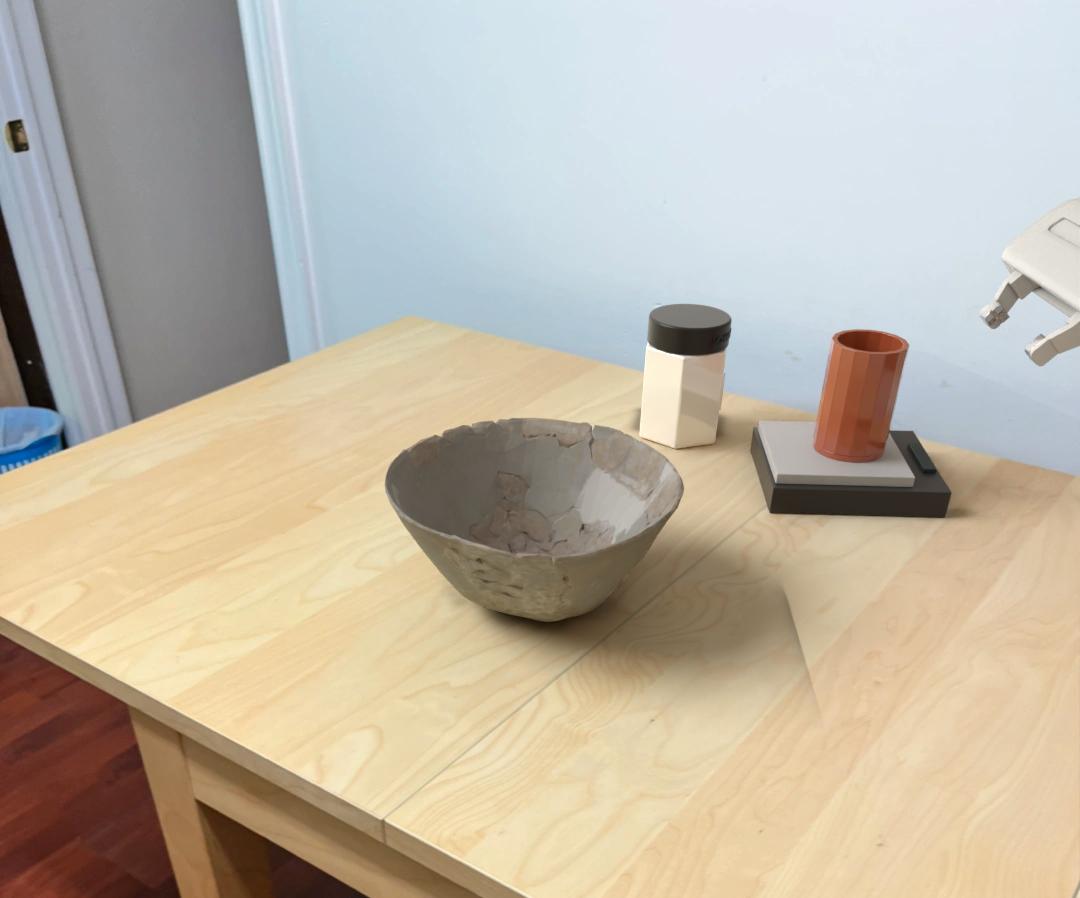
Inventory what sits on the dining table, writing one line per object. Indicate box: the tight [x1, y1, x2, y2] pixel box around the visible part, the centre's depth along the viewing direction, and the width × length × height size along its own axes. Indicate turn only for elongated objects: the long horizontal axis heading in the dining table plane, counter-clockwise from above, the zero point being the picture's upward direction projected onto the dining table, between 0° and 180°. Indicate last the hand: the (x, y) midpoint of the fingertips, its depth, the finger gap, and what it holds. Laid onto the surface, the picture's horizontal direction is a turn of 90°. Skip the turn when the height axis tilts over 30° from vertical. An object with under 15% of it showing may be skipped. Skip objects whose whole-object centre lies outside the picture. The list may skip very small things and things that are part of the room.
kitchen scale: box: [749, 420, 953, 518], centre depth 99 cm, size 16×14×4 cm
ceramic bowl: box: [384, 417, 685, 623], centre depth 81 cm, size 22×23×10 cm
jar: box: [639, 303, 732, 450], centre depth 106 cm, size 9×8×12 cm
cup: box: [813, 328, 910, 463], centre depth 95 cm, size 7×7×10 cm
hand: (1007, 339), depth 93 cm, fingers open, 8 cm apart
